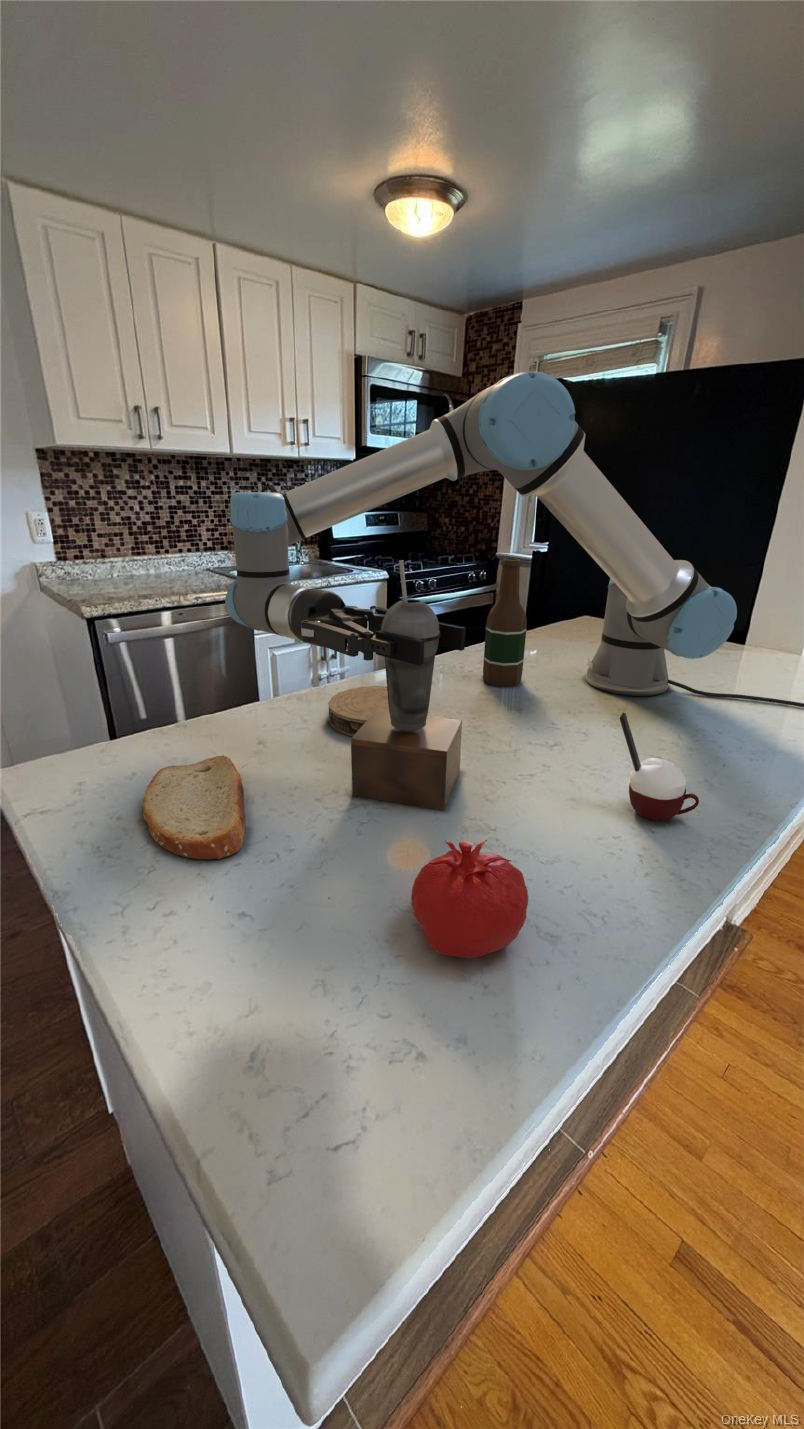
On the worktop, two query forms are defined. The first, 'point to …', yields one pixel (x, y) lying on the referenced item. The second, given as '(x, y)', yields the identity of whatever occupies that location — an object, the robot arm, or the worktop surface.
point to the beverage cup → (406, 679)
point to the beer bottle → (505, 631)
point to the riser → (406, 761)
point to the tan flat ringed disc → (356, 707)
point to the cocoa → (655, 784)
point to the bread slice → (197, 809)
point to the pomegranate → (469, 901)
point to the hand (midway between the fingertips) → (443, 645)
